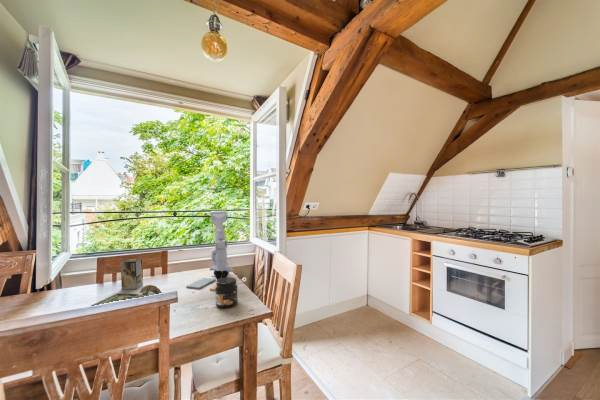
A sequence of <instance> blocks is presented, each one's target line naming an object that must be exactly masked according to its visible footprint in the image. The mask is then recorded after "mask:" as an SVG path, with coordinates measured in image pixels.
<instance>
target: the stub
mask: <svg viewBox="0 0 600 400" xmlns="http://www.w3.org/2000/svg"><path fill="white" fill-rule="evenodd" d="M221 278H222V277H220V278H218V280H219V279H221ZM216 287H217V286H216V285H214V286H212V287H210V288H209V291H210V292H216V290H215V288H216Z"/></svg>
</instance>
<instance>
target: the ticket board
mask: <svg viewBox="0 0 600 400" xmlns="http://www.w3.org/2000/svg"><path fill="white" fill-rule="evenodd" d="M216 281H217V279H216V278H209V277H202V278H201V279H198V280H196V281H194V282H192V283H189V284H188V285H186V289H193V290H201V289H203V288H205V287H207V286H209V285H210V284H212V283H214V282H216Z"/></svg>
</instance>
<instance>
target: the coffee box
mask: <svg viewBox="0 0 600 400" xmlns="http://www.w3.org/2000/svg"><path fill="white" fill-rule="evenodd" d="M120 280H121V290H133V289H135V290H137V289H139V288H141V287H143V282H144V281H143V259H142V258H131V259H130V258H129V259H125V260H123V261H120Z"/></svg>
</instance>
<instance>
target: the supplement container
mask: <svg viewBox="0 0 600 400" xmlns="http://www.w3.org/2000/svg"><path fill="white" fill-rule="evenodd" d="M215 283H216V286H217V287H216V288H215V290H216V291H215V306H216V307H217V308H219V309H229V308H233V307H234V306H236V305H237V304H238V302H239V299H238V296H239V295H238V287H239V286H238V284H237V278H235V277H231V276H230V277H229V276H227V277H226V278H221V279H219V280H217V279H216V281H215Z"/></svg>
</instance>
